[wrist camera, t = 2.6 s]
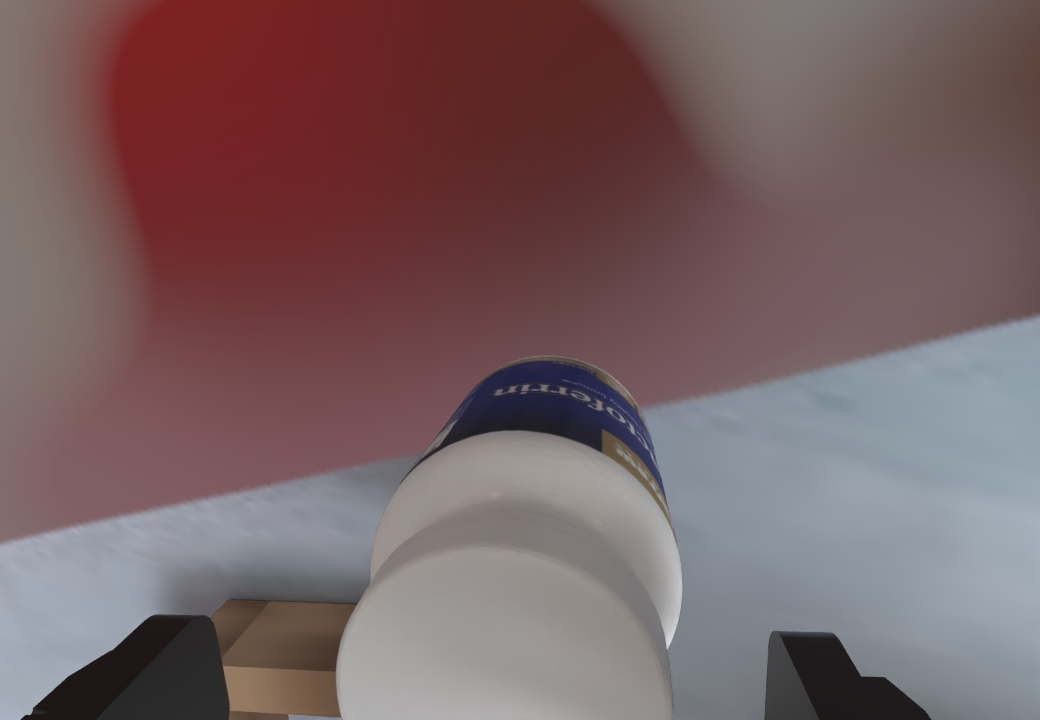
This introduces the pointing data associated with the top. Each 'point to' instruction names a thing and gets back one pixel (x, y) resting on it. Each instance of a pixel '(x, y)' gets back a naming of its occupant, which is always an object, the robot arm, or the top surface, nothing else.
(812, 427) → the top surface
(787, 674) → the robot arm
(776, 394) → the top surface
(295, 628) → the socket block
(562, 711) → the pill bottle
